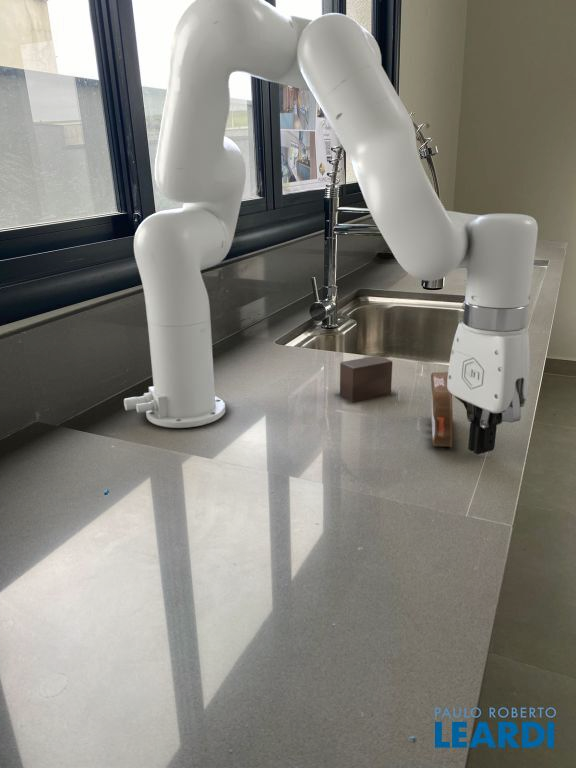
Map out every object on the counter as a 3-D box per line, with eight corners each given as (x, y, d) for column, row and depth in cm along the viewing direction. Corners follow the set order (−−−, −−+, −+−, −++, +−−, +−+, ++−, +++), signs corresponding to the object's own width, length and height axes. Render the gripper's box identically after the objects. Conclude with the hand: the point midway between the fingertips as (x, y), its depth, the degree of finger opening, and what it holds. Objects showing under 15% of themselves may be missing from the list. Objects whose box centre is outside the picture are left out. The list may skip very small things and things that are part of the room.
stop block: (352, 402, 101) (353, 368, 99) (339, 395, 105) (340, 362, 103) (391, 394, 105) (392, 361, 103) (377, 387, 108) (378, 355, 106)
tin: (452, 457, 81) (457, 399, 79) (428, 456, 82) (432, 398, 79) (447, 415, 95) (451, 364, 93) (427, 414, 96) (430, 363, 93)
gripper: (431, 309, 80) (423, 435, 86) (519, 334, 67) (502, 480, 73) (474, 302, 83) (463, 425, 89) (566, 326, 71) (545, 466, 77)
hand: (480, 449), depth 81 cm, fingers closed
